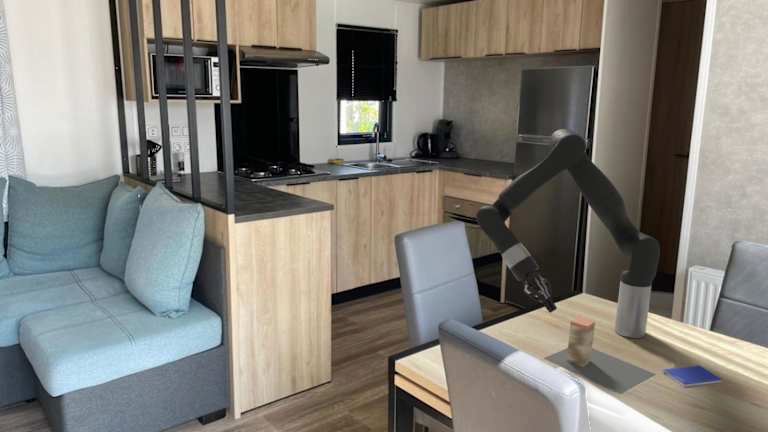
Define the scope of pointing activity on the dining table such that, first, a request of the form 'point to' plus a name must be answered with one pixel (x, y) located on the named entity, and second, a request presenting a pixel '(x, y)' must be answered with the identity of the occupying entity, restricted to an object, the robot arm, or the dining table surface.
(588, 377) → the rubber mat
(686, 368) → the hard drive
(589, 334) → the birch block
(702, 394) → the dining table surface
